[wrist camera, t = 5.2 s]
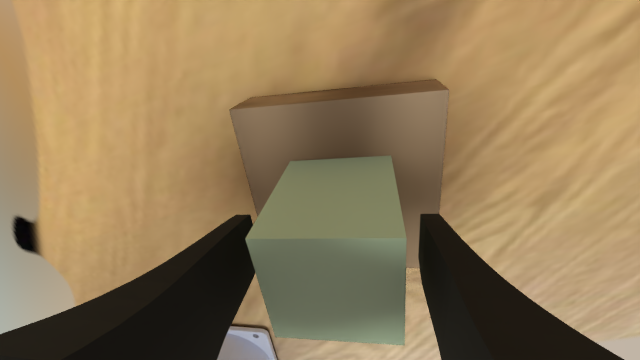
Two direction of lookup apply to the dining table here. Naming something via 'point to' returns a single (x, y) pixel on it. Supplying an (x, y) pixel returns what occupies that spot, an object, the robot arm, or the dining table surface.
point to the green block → (333, 252)
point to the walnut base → (351, 139)
